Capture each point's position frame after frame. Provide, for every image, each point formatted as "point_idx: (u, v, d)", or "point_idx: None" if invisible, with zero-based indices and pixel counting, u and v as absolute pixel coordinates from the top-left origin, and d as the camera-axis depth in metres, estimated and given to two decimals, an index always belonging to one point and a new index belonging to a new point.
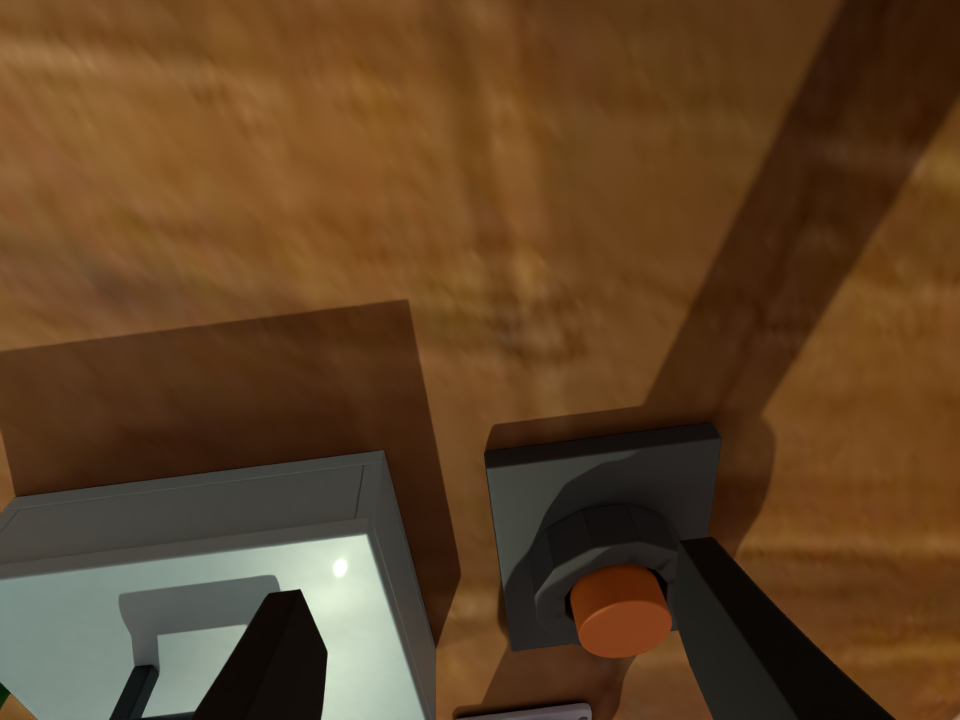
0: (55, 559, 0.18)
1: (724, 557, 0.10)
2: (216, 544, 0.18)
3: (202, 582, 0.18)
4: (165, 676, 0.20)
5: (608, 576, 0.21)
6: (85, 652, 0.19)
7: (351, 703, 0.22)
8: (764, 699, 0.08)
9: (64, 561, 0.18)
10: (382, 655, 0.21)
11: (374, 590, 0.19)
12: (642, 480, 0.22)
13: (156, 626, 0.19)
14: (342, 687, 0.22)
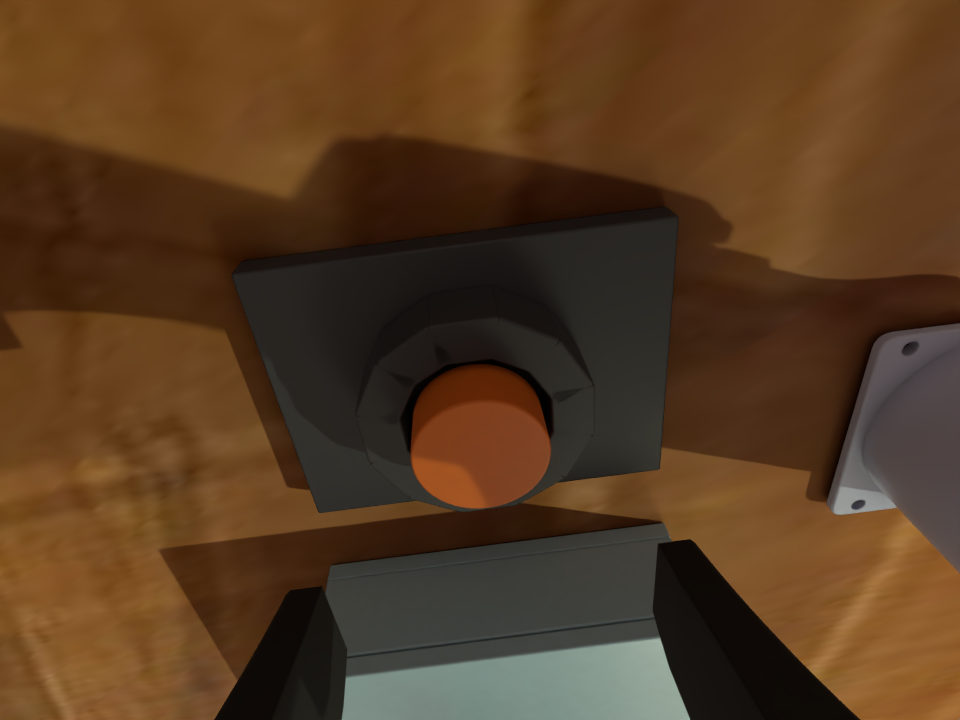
0: None
1: (701, 560, 0.10)
2: None
3: None
4: None
5: None
6: None
7: (573, 692, 0.20)
8: (736, 702, 0.08)
9: None
10: (485, 674, 0.19)
11: (373, 680, 0.19)
12: (320, 361, 0.16)
13: None
14: (539, 698, 0.20)
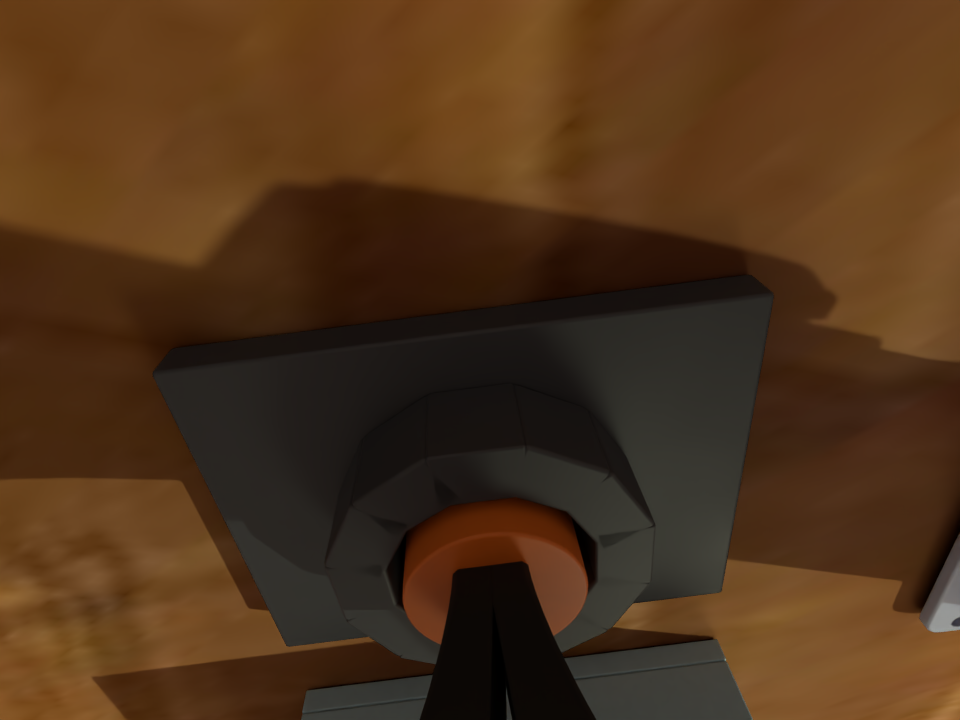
0: None
1: (523, 583, 0.10)
2: None
3: None
4: None
5: None
6: None
7: None
8: None
9: None
10: None
11: None
12: (281, 477, 0.12)
13: None
14: None
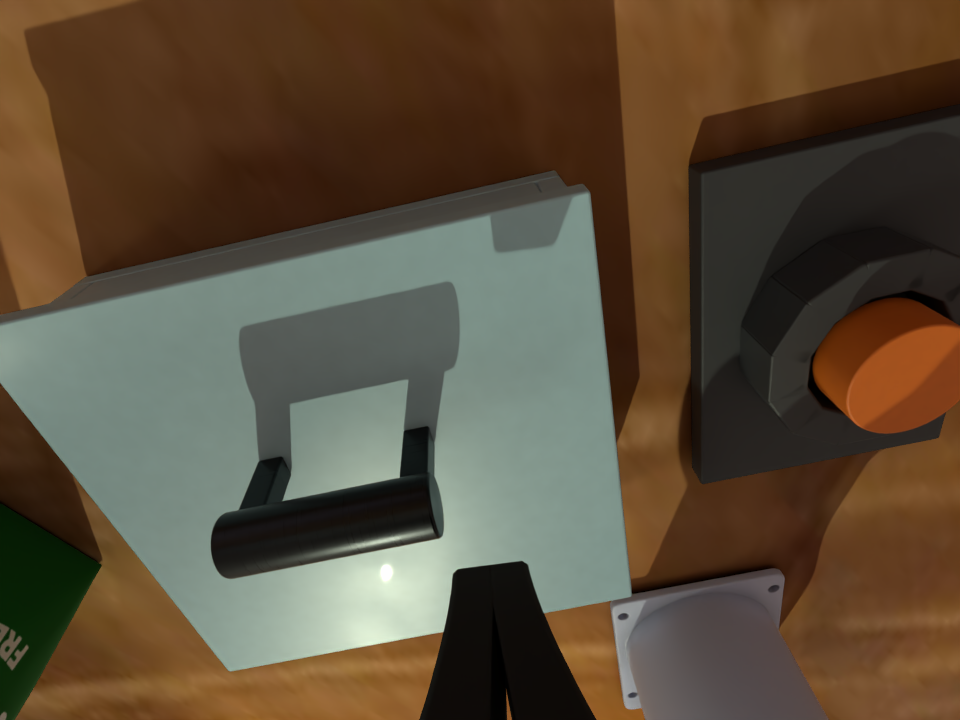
0: (151, 281, 0.13)
1: (523, 583, 0.10)
2: (372, 235, 0.12)
3: (353, 300, 0.13)
4: (298, 477, 0.15)
5: (881, 310, 0.16)
6: (195, 438, 0.14)
7: (535, 518, 0.17)
8: None
9: (163, 280, 0.13)
10: (584, 430, 0.15)
11: (588, 307, 0.13)
12: (912, 183, 0.16)
13: (289, 388, 0.14)
14: (526, 489, 0.16)
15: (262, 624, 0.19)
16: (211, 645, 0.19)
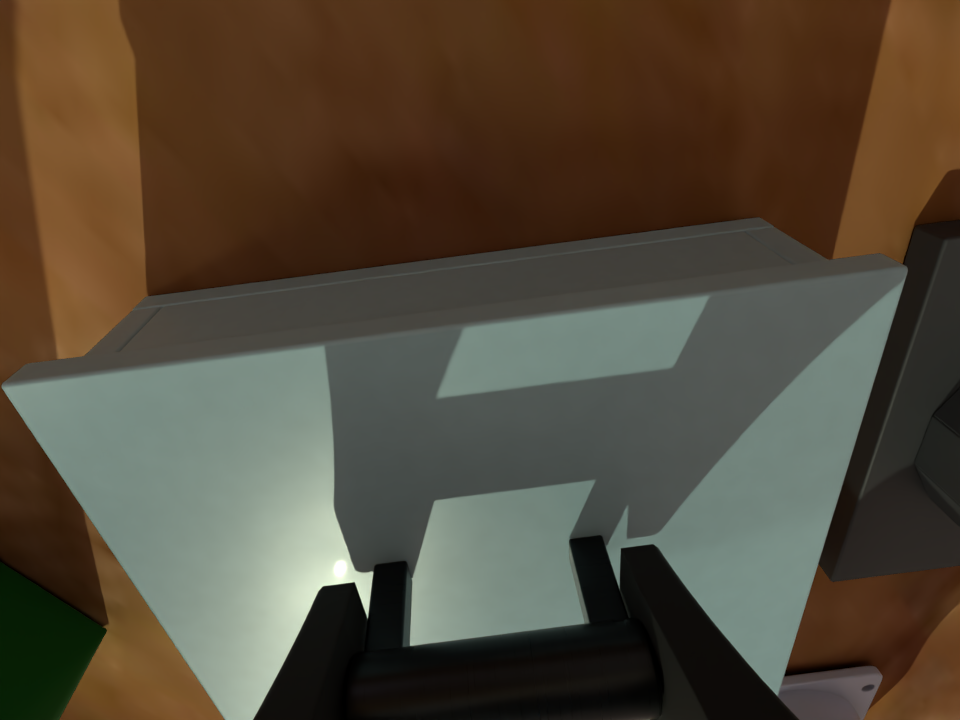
0: (280, 332, 0.09)
1: (662, 565, 0.10)
2: (600, 297, 0.09)
3: (556, 381, 0.09)
4: (419, 585, 0.12)
5: None
6: (299, 534, 0.11)
7: None
8: (688, 709, 0.08)
9: (300, 333, 0.09)
10: (787, 549, 0.12)
11: (849, 409, 0.10)
12: None
13: (439, 482, 0.10)
14: None
15: None
16: None
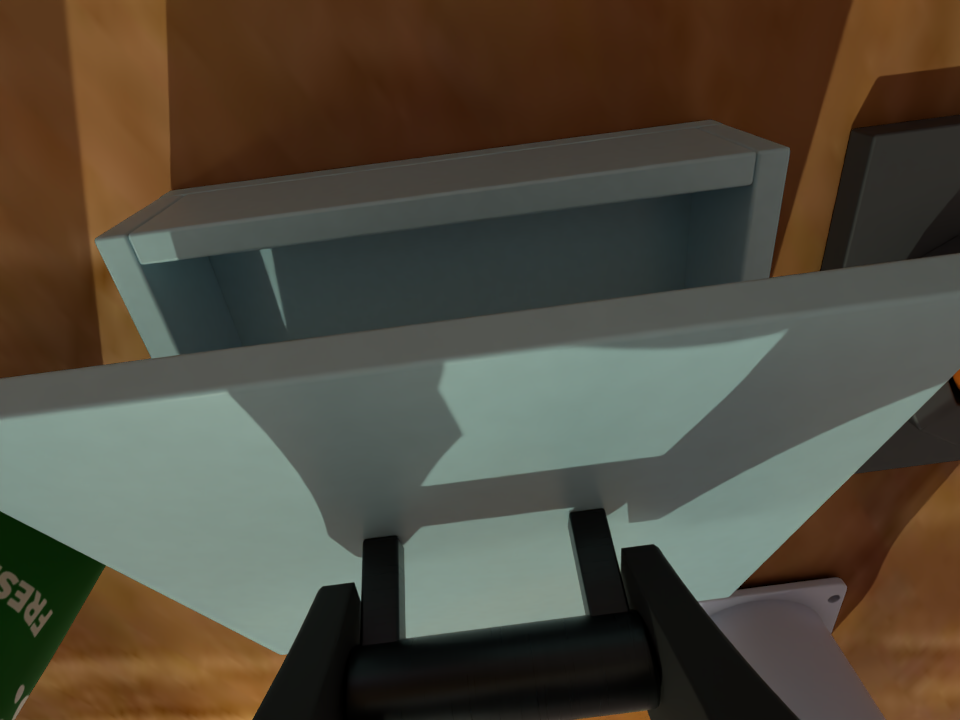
0: (219, 355, 0.07)
1: (662, 565, 0.10)
2: (641, 315, 0.07)
3: (575, 402, 0.08)
4: (411, 548, 0.11)
5: None
6: (277, 525, 0.10)
7: (675, 561, 0.14)
8: (689, 708, 0.08)
9: (247, 360, 0.07)
10: (789, 505, 0.12)
11: (904, 408, 0.09)
12: None
13: (432, 483, 0.09)
14: (683, 545, 0.13)
15: None
16: (264, 644, 0.16)
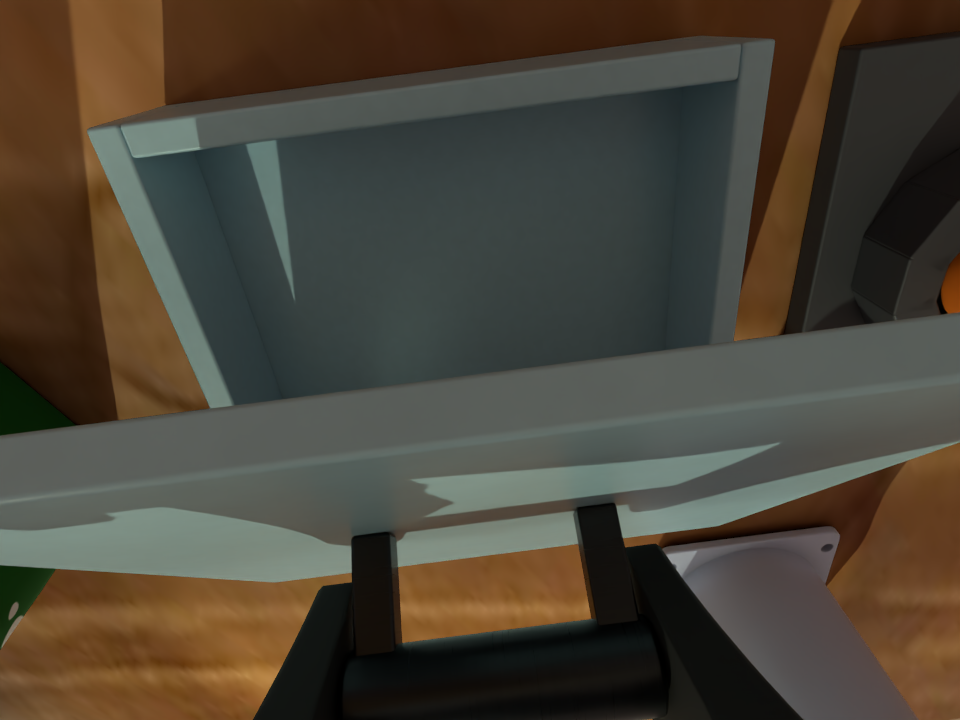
0: (148, 426, 0.05)
1: (664, 564, 0.10)
2: (706, 380, 0.05)
3: (605, 456, 0.06)
4: (404, 535, 0.11)
5: None
6: (254, 538, 0.09)
7: (676, 517, 0.14)
8: (691, 708, 0.08)
9: (185, 437, 0.05)
10: (809, 485, 0.11)
11: None
12: None
13: (427, 507, 0.08)
14: (688, 510, 0.13)
15: (318, 571, 0.16)
16: None
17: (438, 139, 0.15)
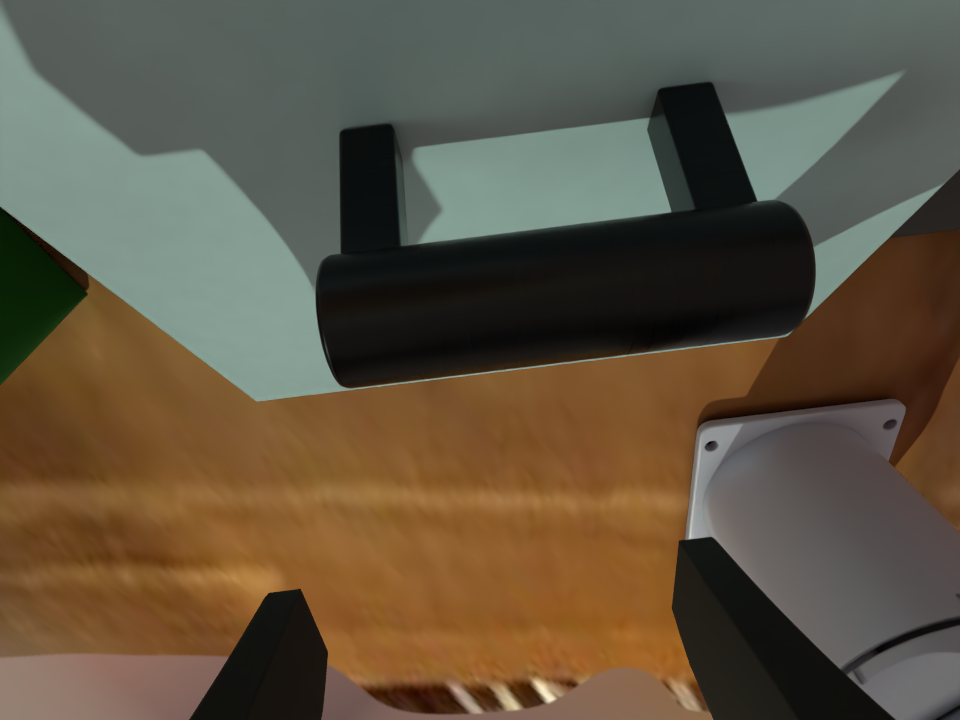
0: None
1: (724, 557, 0.10)
2: None
3: None
4: (413, 168, 0.08)
5: None
6: (194, 63, 0.06)
7: None
8: (764, 699, 0.08)
9: None
10: None
11: None
12: None
13: None
14: None
15: (307, 361, 0.13)
16: (233, 380, 0.14)
17: None
